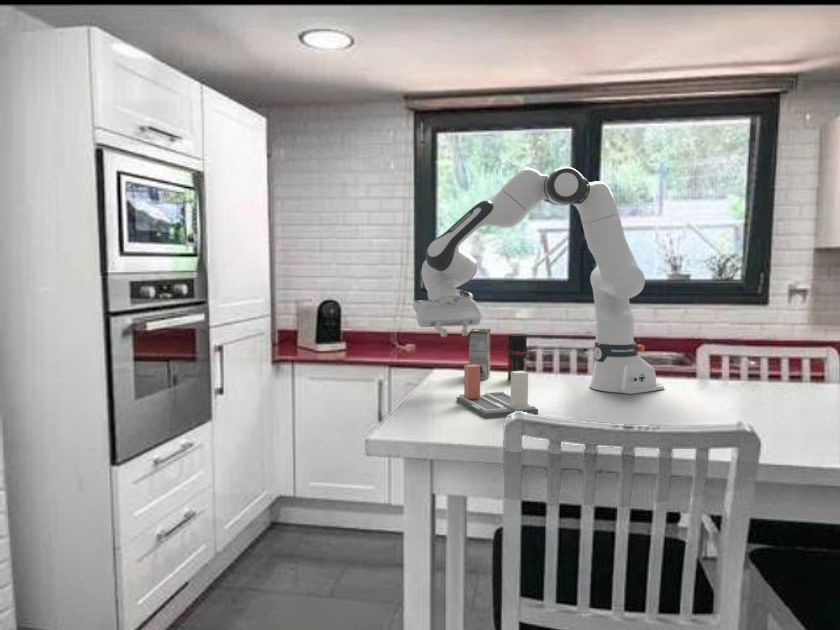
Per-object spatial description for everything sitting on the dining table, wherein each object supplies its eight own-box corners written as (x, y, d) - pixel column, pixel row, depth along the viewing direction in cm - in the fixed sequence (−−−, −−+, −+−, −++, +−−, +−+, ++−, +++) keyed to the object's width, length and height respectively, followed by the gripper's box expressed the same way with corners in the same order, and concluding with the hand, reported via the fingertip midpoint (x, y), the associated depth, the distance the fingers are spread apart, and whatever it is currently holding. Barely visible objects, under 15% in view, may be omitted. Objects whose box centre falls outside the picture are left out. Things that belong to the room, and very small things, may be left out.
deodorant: (525, 381, 209) (525, 336, 208) (506, 380, 210) (507, 335, 209) (526, 378, 215) (527, 333, 213) (509, 377, 216) (509, 333, 215)
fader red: (475, 395, 181) (475, 364, 181) (479, 398, 179) (480, 366, 178) (464, 396, 180) (464, 365, 180) (468, 398, 178) (468, 366, 177)
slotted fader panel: (504, 397, 186) (504, 391, 186) (538, 413, 167) (538, 406, 167) (456, 401, 181) (456, 394, 181) (485, 418, 162) (485, 411, 162)
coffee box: (471, 374, 222) (472, 328, 221) (490, 374, 221) (490, 328, 219) (468, 379, 213) (468, 331, 212) (487, 379, 212) (488, 331, 210)
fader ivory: (522, 403, 172) (522, 370, 171) (527, 406, 169) (528, 372, 168) (510, 404, 171) (510, 371, 170) (515, 407, 168) (516, 373, 167)
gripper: (414, 294, 193) (424, 330, 185) (476, 292, 200) (489, 327, 191) (409, 307, 198) (419, 343, 190) (470, 306, 204) (483, 340, 196)
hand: (455, 335), depth 191 cm, fingers open, 5 cm apart
